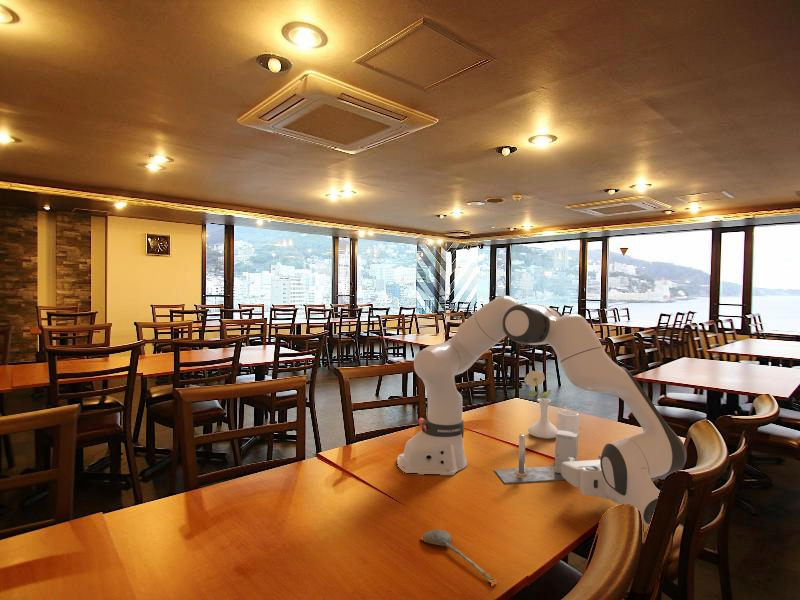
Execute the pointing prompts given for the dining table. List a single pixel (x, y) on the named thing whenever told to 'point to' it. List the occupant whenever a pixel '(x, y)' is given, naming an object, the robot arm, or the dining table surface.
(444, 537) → the soupspoon
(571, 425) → the drinking glass
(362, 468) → the dining table surface
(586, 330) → the robot arm
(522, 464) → the steel pin
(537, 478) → the bolt-hole strip
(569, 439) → the skincare box
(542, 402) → the flower in vase
